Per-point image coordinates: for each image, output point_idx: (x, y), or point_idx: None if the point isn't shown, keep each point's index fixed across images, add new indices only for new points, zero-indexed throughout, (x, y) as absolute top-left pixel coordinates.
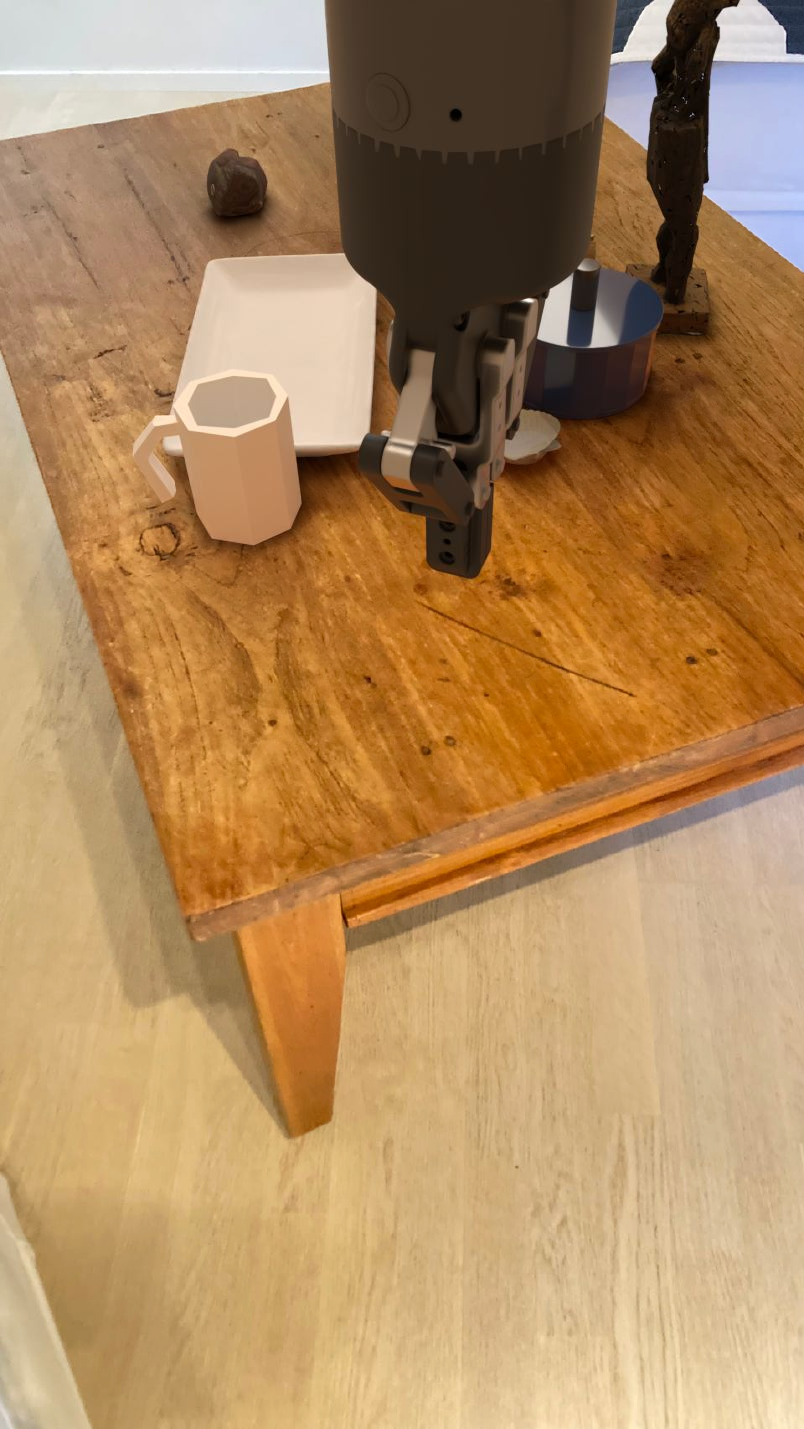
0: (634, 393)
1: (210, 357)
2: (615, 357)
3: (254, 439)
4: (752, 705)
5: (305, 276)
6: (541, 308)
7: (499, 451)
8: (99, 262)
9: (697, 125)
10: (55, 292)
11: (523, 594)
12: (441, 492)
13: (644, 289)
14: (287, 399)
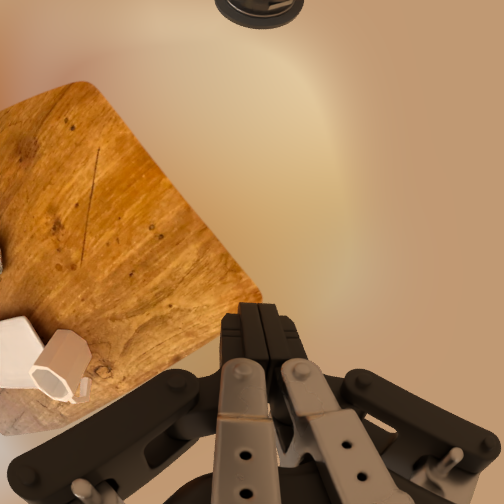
0: None
1: (24, 378)
2: None
3: (59, 370)
4: (93, 93)
5: None
6: (43, 461)
7: (247, 389)
8: (17, 412)
9: None
10: (35, 421)
11: (58, 219)
12: (468, 424)
13: None
14: (34, 364)
